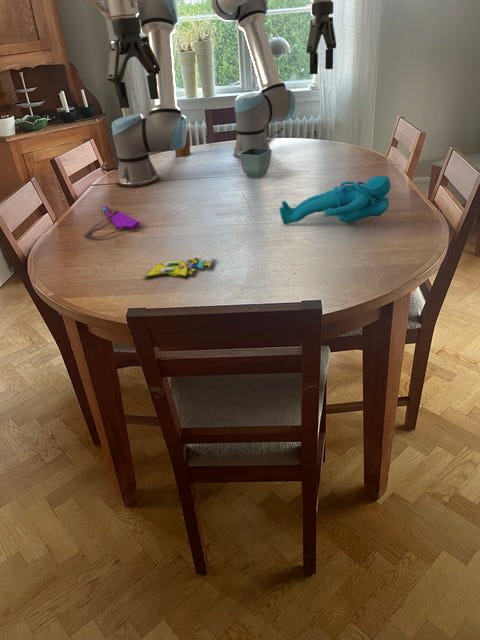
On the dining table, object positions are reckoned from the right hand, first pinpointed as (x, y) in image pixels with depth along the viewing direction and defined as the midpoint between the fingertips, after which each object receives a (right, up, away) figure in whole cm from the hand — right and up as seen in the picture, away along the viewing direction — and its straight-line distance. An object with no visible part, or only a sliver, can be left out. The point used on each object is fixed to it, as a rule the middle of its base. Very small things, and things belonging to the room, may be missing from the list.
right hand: (321, 71), depth 173 cm
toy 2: (-3, -62, -38) cm, 73 cm away
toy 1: (-44, -77, -56) cm, 105 cm away
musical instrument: (-70, -61, -26) cm, 97 cm away
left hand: (-59, -27, -34) cm, 73 cm away
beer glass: (-55, -16, +40) cm, 70 cm away
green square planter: (-23, -37, +5) cm, 44 cm away
